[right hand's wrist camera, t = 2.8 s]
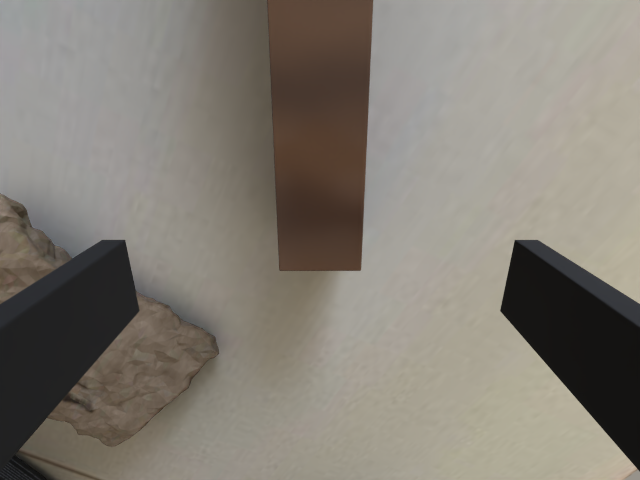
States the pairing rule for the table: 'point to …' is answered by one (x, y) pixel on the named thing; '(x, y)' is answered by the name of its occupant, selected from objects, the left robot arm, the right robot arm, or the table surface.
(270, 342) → the table surface
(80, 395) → the stone
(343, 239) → the walnut plank
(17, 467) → the graphics card box
